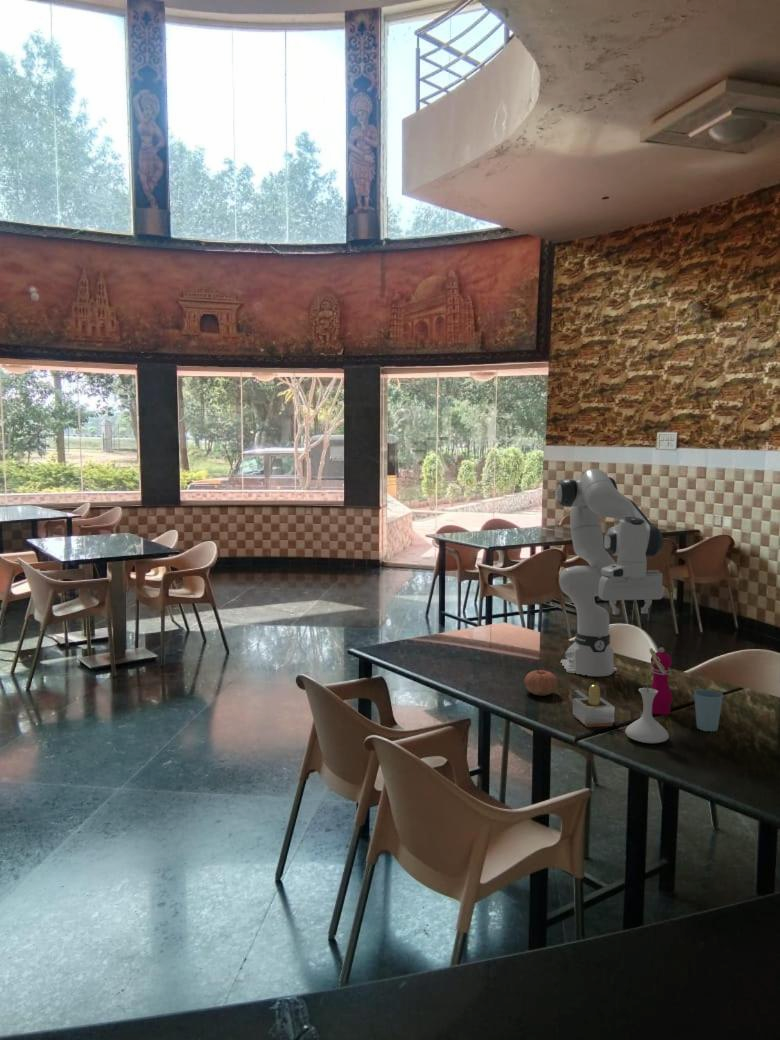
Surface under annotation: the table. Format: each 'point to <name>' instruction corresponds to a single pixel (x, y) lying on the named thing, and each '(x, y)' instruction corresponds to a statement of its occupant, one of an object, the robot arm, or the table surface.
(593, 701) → the post
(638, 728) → the flower in vase
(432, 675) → the table surface
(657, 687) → the pepper mill
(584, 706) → the steel link
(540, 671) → the orange pumpkin
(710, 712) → the cup
